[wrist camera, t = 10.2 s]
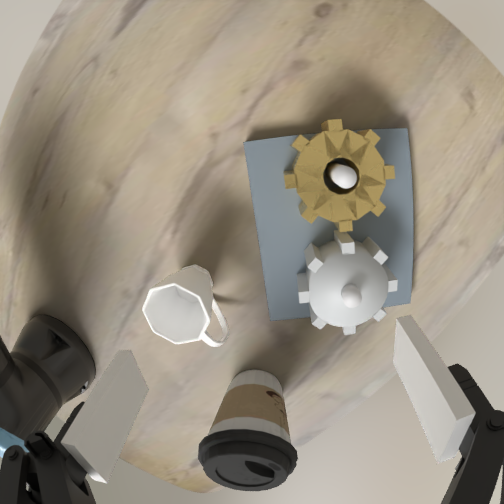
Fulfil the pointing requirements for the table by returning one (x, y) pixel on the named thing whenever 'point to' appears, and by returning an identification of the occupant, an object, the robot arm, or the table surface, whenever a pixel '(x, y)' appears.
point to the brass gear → (338, 199)
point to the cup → (184, 307)
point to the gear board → (332, 239)
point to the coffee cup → (249, 436)
